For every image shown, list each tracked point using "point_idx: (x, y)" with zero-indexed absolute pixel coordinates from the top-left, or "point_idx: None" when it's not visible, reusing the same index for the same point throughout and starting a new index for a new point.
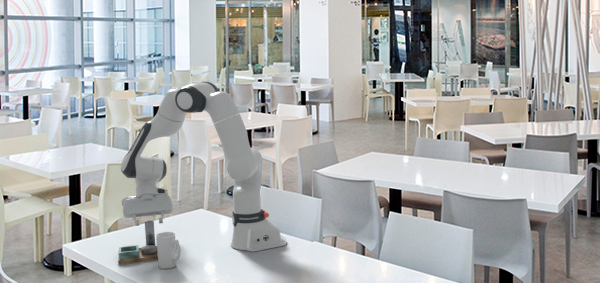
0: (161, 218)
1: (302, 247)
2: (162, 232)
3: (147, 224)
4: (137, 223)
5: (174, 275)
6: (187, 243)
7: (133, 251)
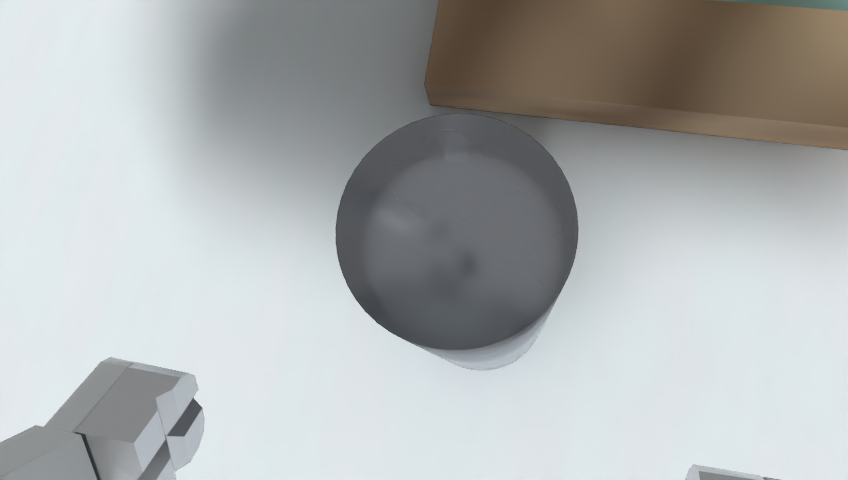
0: (82, 417)
1: None
2: None
3: (520, 141)
4: (745, 477)
5: None
6: (54, 165)
7: None
